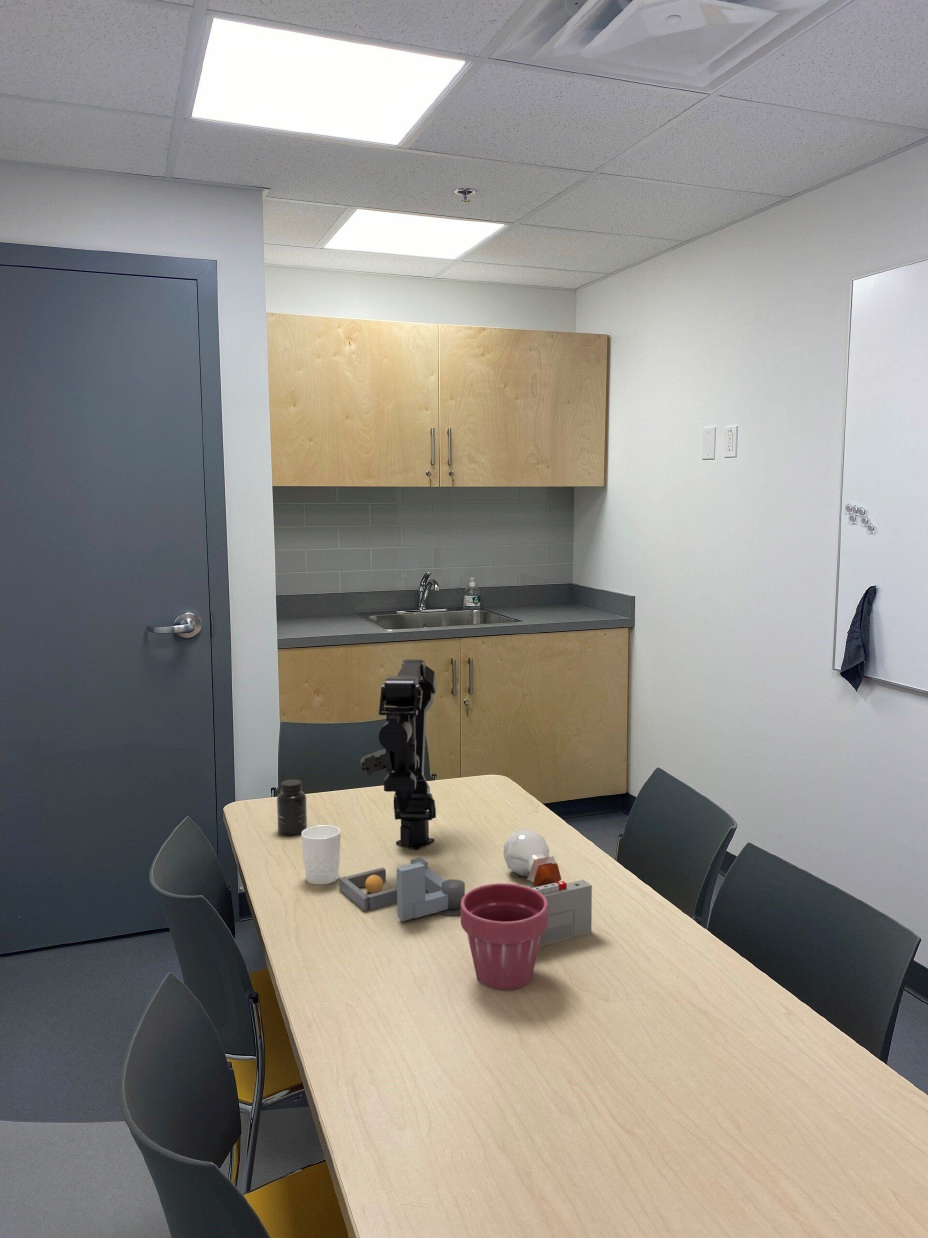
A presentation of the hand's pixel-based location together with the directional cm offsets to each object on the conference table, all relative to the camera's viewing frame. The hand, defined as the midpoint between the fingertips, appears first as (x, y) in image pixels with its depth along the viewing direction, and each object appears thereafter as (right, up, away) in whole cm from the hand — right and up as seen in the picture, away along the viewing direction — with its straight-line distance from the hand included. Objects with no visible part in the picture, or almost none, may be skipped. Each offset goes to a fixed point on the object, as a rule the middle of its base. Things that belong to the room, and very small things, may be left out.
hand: (403, 811), depth 185 cm
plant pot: (+19, -18, -41) cm, 48 cm away
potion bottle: (+27, -13, -3) cm, 30 cm away
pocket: (-5, -14, -9) cm, 18 cm away
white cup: (-17, -14, -1) cm, 21 cm away
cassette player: (+28, -17, -28) cm, 43 cm away
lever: (+3, -14, -13) cm, 19 cm away
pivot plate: (+11, -15, -16) cm, 24 cm away
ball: (-5, -12, -9) cm, 16 cm away
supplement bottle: (-28, -11, +26) cm, 40 cm away
